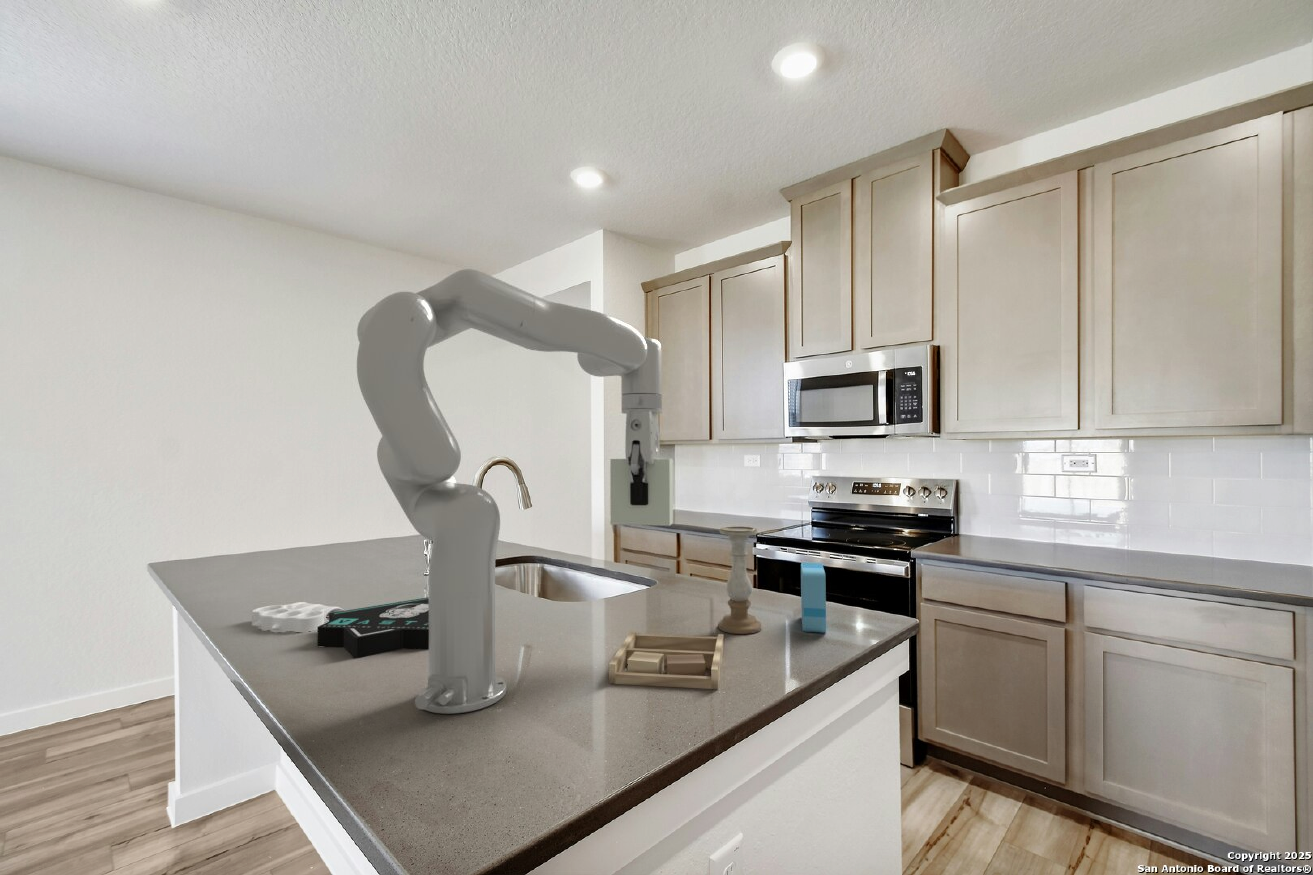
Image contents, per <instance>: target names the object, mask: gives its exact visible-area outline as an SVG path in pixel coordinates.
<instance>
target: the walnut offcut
mask: <svg viewBox="0 0 1313 875" xmlns="http://www.w3.org/2000/svg"><path fill="white" fill-rule="evenodd" d="M666 659H667V666H666V674H670V675H689V676H706V668H705V661H704V657H703V654H697V655H666Z"/></svg>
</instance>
